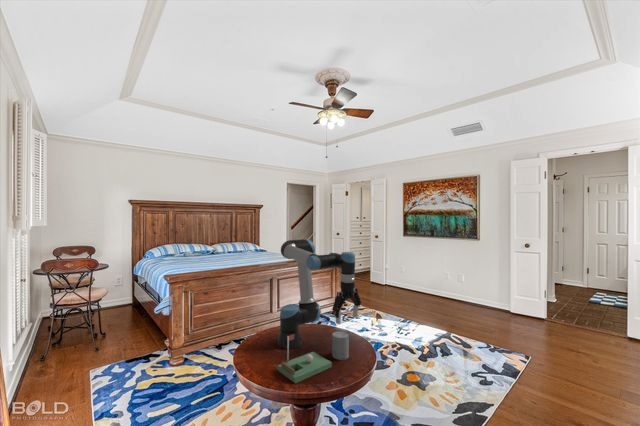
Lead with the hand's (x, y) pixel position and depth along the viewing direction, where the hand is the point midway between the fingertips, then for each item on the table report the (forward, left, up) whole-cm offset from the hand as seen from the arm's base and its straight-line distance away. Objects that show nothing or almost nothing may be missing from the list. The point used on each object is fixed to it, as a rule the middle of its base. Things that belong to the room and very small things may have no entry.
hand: (346, 320), depth 164 cm
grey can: (-10, +5, -25) cm, 27 cm away
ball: (-12, -16, -20) cm, 28 cm away
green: (-12, -19, -24) cm, 33 cm away
